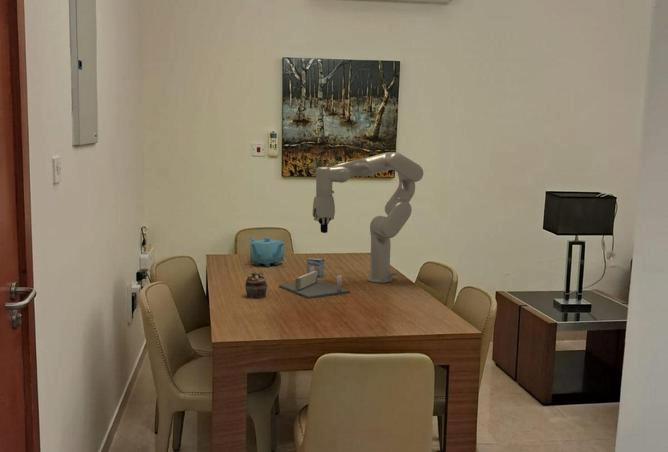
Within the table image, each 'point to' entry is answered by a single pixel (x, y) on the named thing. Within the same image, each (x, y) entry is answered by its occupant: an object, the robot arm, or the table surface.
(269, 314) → the table surface
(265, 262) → the teakettle
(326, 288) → the gate base
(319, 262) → the medicine box
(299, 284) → the bar
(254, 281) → the cupcake
